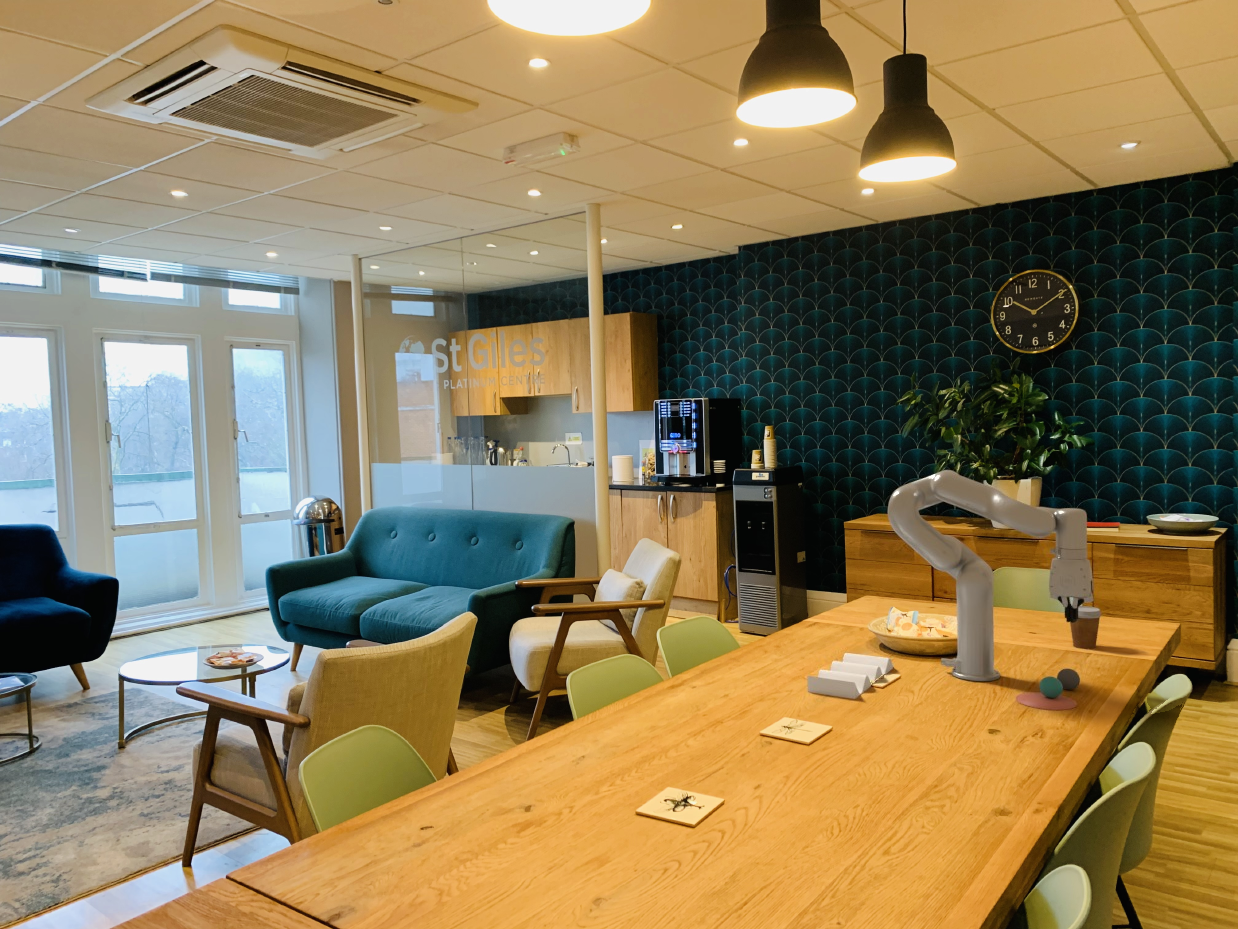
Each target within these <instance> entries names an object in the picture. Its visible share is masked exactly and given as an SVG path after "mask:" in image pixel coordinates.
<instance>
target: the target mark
mask: <svg viewBox="0 0 1238 929" xmlns="http://www.w3.org/2000/svg"><path fill="white" fill-rule="evenodd" d="M1015 700H1016V702H1017V703H1019V704H1021V705H1024V706H1026V707H1029V708H1034V709H1038V710H1046V711H1066V710H1071V709H1074V708H1075V707H1077V702H1076V700H1074V699H1072V698H1070V697H1067V696H1064V695H1062V694H1061V695H1060V696H1059V697H1057V698H1048V697H1046V696H1044V695H1043V694H1042V693H1041V692H1034V691H1033V692H1024V693H1020V694H1018V695H1016V697H1015Z"/></svg>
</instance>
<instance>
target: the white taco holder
mask: <svg viewBox="0 0 1238 929" xmlns="http://www.w3.org/2000/svg"><path fill="white" fill-rule="evenodd" d="M892 669H894V665H893V662H892V659H891V658H890V657H882V656H875V655H874V656H873V655H867V654H858V653H851V652H850V653H849V652H845V653H844V655H843V658H842V661H838V660H833V661H832V663H831V665H830V670H827V669H819V672H818V675H817V676H812V675H811V676H810V675H807V676H806V677H807V693H813V694H821V695H825V696H833V697H839V698H847V699H852V700H853V699H854V700H855V699H857V698H858V697H859V696H861V695H862V694H863V693H865V691H867V690H868V689H869V688H871V687H872V686H871V682H870V680H873V681H875V680H876V679H877V678H879V677H880V676H881V675H883V674H885V675H886V674H888V673H889V672H890V671H891V670H892Z"/></svg>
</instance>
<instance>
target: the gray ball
mask: <svg viewBox="0 0 1238 929" xmlns="http://www.w3.org/2000/svg"><path fill="white" fill-rule="evenodd" d="M1056 678H1057V679H1058V680H1059V681H1060V682H1061V683H1062V686H1063V690H1067V691H1068V690H1069V691H1072V690H1075V689H1077V688H1078V687H1079V685H1080V683H1081V678H1080V675H1079V674H1078V672H1077V671H1075V670H1074V669H1071V668H1062V669H1060V671H1059V672H1058V673H1057V675H1056Z"/></svg>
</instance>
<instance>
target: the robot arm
mask: <svg viewBox="0 0 1238 929" xmlns="http://www.w3.org/2000/svg"><path fill="white" fill-rule="evenodd" d="M943 502H945V503H947V504H949V505H953V506H955V507H957V508H960V509H962V510H966V511H967V512H968V511H969V512H971V513H974V514H976V515H978V516H981V517H983V518H985V519H987V520H990V521H994V522H995V523H998V524H1001V525H1003V526H1006V527H1008V528H1010V529H1013V530H1015V531H1018V532H1020V533H1023V534H1026V535H1029V536H1032V537H1036V538H1047V537H1049V536H1050V535H1051V534H1053V533H1054V534H1055V547H1054V548H1050V550H1049V552H1050V554H1053V555H1054V557H1053V558H1052V559H1051V565H1050V570H1049V581H1048V582H1049V583H1048V592H1049V593H1050V594H1049V597H1050V598H1052V599H1054V600H1057V601H1058V602H1060V603H1061V605H1062V607H1064V619H1066V620H1065V621H1066V623H1070V622H1071V623H1074V622H1076V620H1077V619H1078V607H1079V606H1082V605H1083V604H1084V603H1085V604H1086V603H1091V602H1093V601H1094V600H1095V599H1094V595H1093V594H1094V581H1093V580H1094V579H1093V571H1092V566H1091V562H1090V559H1088V539H1087V538H1088V535H1087V534H1088V533H1087V532H1088V527H1087V526H1088V525H1087V524H1088V519H1087V518H1088V517H1087V515H1088V514H1087V512H1086V510H1085V509H1082V508H1076V507H1073V508H1072V507H1069V508H1068V507H1067V508H1065V507H1064V508H1052V507H1046V506H1036V507H1035V506H1032V505H1029V504H1027V503H1024V502H1021V501H1019V500H1016V499H1015V498H1012V497H1011V496H1009V495H1007V494H1005V493H1003V492H1002V491H1000V490H999V489H998V488H996V487H993V486H990V485H987V484H984V483H981V482H979V481H976V480H973V479H971V478H968V477H965V476H962V475H960V474H959V473H957V472H956V471H954V470H950V469H943V470H941V471H938V472H936V473H934V474H931V475H928V476H926V477H924V478H920V479H918V480H915V481H912V482H909V483H907V484H903V485H901V486H899V487H898V488H897V489H895V490H894V491H893V492H892V494H891V495H890V498H889V501H888V506H887V518H888V521H889V524H890V526H891V528H892V529H893V531H894V532H895V534H896V535H897V536H898V537H899V538H901V539H902V540H903V541H904V542H905V543H906V544H907V545H908V546H909V547H911V549H913V550H914V551H915V552H916V553H917V554H918V555H920V556H921V557H922V558H923V559H924V560H925V561H927V563H928V564H930V566H932V567H933V568H934V569H936V570H938V571H939V572H940V571H941V572H946V573H947V574H949V575H950V576H951V577H952V578H953V579H954V580H955V591H956V592H955V593H956V594H955V595H956V622H957V624H956V625H957V627H956V628H957V629H956V630H957V632H956V634H957V636H956V637H957V640H956V641H957V655H956V658H955V657H954V658H952V659H951V658H950V659H949V658H941V659H940V664H941V666H944V667H946V668H952V670H951V674H952V676H954V677H956V678H959V679H962V680H965V681H966V680H967V681H974V682H990V681H991V682H992V681H997V680H998V679H1000V677H1001V674H1000V672H999V671H998V670H997V669H995V662H994V661H995V659H994V658H995V654H994V652H995V649H994V646H995V644H994V643H995V642H994V641H995V640H994V638H995V637H994V636H995V635H994V632H995V631H994V629H995V628H994V626H995V625H994V582H995V575H994V571H993V569H992V567H991V566H990V565H989V563H987V562H986V561H985V560H984V559H982V558H981V557H980V556H979V555H978V554H976V552H974V551H973V550H972V549H971V548H969V547H968V546H967V545H966V544H964V543H963V542H962V541H960V540H959V539H958V538H956V537H955V536H953V535H949V534H943V533H941V532H940V531H938V529H936V528H935V527H934V526H933V525H932V524H931V523H929V522H928V521H927V520H926V519H924V518H923V517H922V516H921V515H920V512H919V511H920V510H923V509H926V508H930V507H931V506H935V505H938V504H940V503H943ZM1071 598H1072V603H1071Z"/></svg>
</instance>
